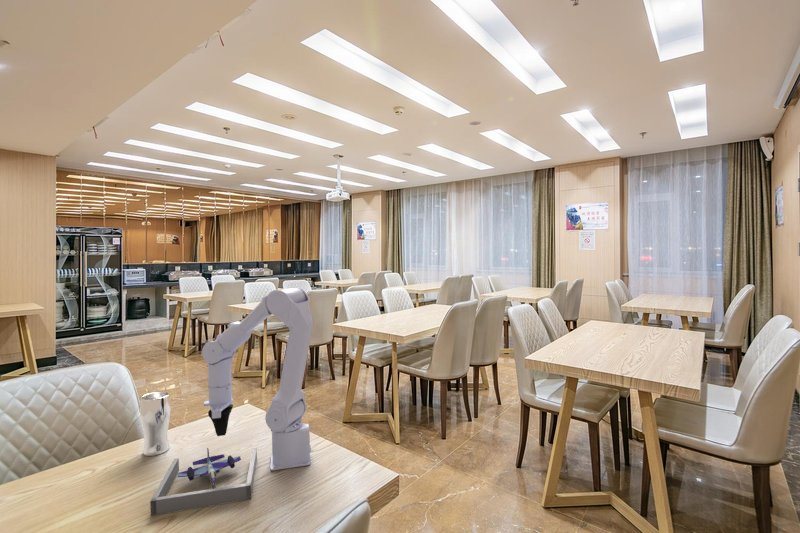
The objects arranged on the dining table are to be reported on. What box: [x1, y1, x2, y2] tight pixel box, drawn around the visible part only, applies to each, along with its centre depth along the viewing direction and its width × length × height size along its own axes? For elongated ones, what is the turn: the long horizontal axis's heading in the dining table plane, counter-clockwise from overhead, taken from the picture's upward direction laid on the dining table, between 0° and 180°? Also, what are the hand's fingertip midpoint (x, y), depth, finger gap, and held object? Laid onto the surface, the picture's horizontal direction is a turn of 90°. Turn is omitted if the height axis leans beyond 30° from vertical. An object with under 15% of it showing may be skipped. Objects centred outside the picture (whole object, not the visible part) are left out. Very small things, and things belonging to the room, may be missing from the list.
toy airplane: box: [176, 447, 242, 489], centre depth 92 cm, size 13×14×4 cm
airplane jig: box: [150, 447, 258, 516], centre depth 90 cm, size 19×17×3 cm
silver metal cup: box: [139, 391, 171, 457], centre depth 106 cm, size 7×7×15 cm
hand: (221, 434), depth 106 cm, fingers closed
